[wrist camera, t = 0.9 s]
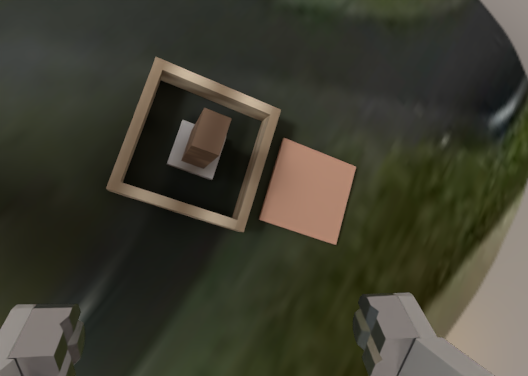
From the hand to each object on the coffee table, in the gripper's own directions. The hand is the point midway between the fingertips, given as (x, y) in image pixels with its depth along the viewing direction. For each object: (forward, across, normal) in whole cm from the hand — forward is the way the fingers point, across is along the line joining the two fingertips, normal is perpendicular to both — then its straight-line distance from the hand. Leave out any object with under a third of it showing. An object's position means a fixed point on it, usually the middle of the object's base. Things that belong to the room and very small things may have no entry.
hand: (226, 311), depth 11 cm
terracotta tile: (+29, -11, +15) cm, 35 cm away
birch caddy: (+30, +2, +10) cm, 32 cm away
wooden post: (+30, +2, +10) cm, 32 cm away
